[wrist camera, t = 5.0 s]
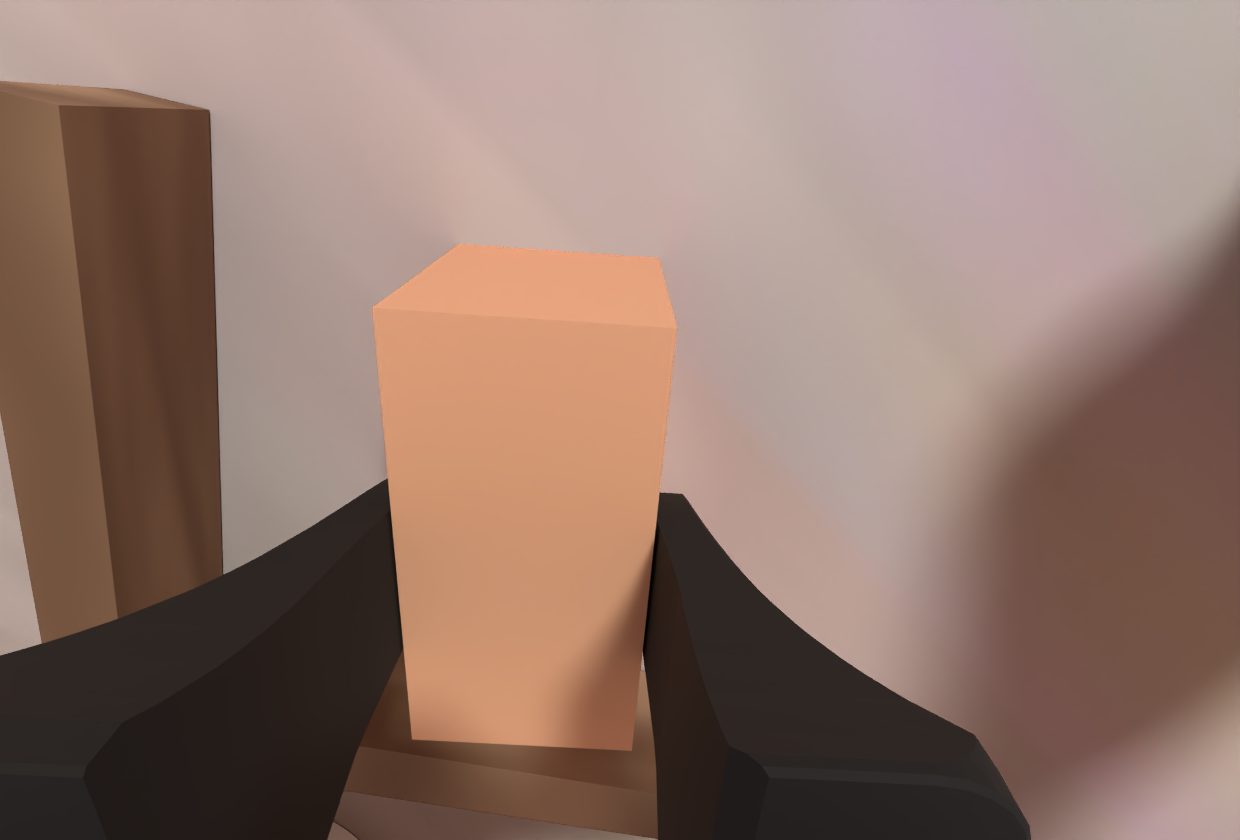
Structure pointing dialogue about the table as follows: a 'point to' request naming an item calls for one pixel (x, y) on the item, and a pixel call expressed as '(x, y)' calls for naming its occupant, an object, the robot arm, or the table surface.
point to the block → (525, 488)
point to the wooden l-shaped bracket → (183, 427)
